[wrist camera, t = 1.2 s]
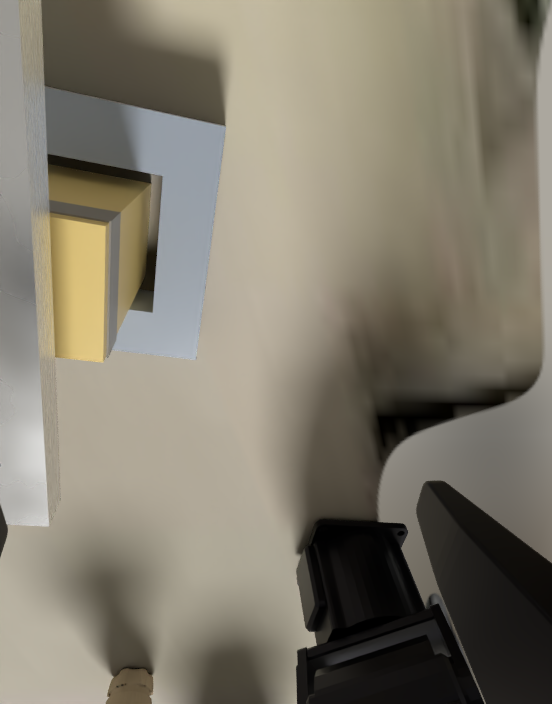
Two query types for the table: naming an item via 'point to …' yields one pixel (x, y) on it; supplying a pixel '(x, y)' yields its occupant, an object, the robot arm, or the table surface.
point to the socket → (175, 211)
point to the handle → (131, 687)
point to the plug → (94, 257)
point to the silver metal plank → (25, 278)
